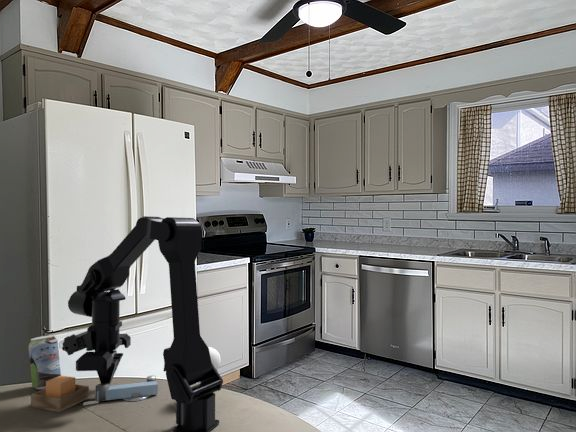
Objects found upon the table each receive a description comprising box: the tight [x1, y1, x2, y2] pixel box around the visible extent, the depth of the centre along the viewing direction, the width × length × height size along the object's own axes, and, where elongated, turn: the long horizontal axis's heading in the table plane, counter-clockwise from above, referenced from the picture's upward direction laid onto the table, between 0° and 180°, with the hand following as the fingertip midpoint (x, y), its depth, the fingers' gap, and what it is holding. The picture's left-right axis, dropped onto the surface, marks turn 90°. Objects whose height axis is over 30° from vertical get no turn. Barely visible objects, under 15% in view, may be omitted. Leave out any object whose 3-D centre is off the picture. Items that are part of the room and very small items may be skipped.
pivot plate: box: [122, 395, 151, 402], centre depth 98 cm, size 6×6×1 cm
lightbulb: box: [199, 346, 222, 384], centre depth 98 cm, size 6×6×11 cm
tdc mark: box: [83, 400, 100, 406], centre depth 94 cm, size 3×1×1 cm, turn 115°
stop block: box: [45, 375, 76, 398], centre depth 95 cm, size 4×4×4 cm
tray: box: [30, 383, 90, 413], centre depth 95 cm, size 8×8×3 cm
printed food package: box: [28, 334, 62, 390], centre depth 104 cm, size 6×7×12 cm
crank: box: [94, 380, 159, 402], centre depth 98 cm, size 13×3×3 cm, turn 109°
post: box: [146, 375, 157, 382], centre depth 102 cm, size 2×2×3 cm
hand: (105, 389), depth 99 cm, fingers closed
